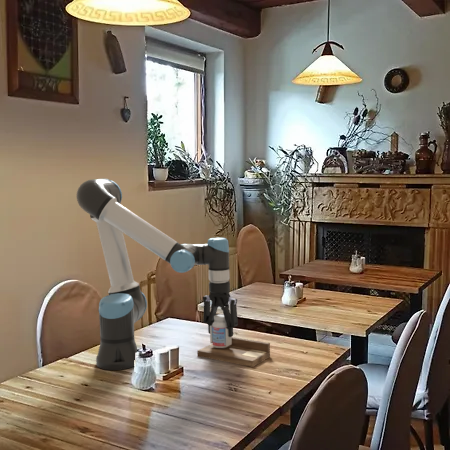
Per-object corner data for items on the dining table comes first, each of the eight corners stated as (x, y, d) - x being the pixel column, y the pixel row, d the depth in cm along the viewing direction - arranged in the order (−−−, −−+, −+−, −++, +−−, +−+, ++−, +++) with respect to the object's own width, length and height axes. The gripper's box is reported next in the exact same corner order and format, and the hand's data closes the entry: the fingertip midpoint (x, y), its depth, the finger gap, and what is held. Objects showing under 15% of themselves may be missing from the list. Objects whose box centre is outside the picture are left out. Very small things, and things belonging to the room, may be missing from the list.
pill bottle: (209, 347, 213) (208, 317, 212) (217, 342, 218) (216, 313, 217) (224, 349, 210) (223, 318, 209) (232, 344, 215) (231, 314, 214)
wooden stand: (252, 366, 199) (252, 352, 198) (197, 356, 211) (197, 342, 211) (270, 356, 209) (269, 343, 208) (216, 347, 221) (216, 334, 221)
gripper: (247, 281, 210) (248, 344, 212) (203, 277, 220) (205, 337, 222) (236, 285, 203) (237, 350, 206) (191, 280, 214) (193, 342, 216)
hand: (220, 343), depth 214 cm, fingers closed on pill bottle, 6 cm apart
